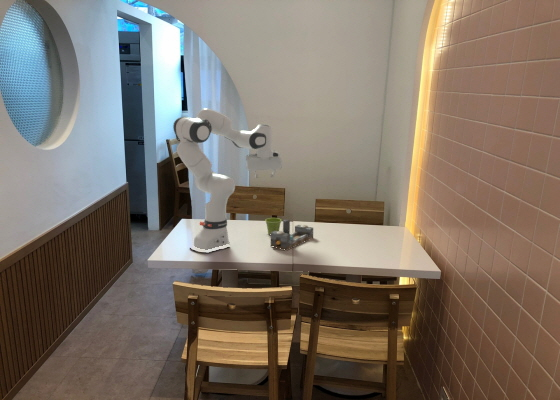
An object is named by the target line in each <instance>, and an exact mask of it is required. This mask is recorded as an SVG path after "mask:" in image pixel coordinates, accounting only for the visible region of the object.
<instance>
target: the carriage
mask: <svg viewBox="0 0 560 400" xmlns="http://www.w3.org/2000/svg"><path fill="white" fill-rule="evenodd" d="M290 224H291V221H290V219H283V220H282V231H283V232H284V233H287V234H291V232H290V231H291V230H290V229H291V225H290ZM292 240H293V236H290V241H292Z"/></svg>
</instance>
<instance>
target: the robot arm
mask: <svg viewBox="0 0 560 400" xmlns="http://www.w3.org/2000/svg"><path fill="white" fill-rule="evenodd" d="M172 127H173V132H174V134H175V139H176V140H177V141H178V142H179V143H178V144H177V146H176V153H177V155H178V157H179V158H180V160H181V163H183V164H184V165H185V167H186V168H187V169H188V170H189V171H190V173H191V174H192V175H193V177H194V185H195V187H196V188H197V189H198V190H199V191H200V192H203V193H206V194H210V200H209V201H208V202H207V203H206V204H205V206H204V210H205V211H204V215H205V216H204V217H205V219H204V220H203V221H199V226H202V228H201V229H200V230H199V232H197V234H196V235H195V236H194V238H193V239H194V240H193V245H194V246H195V247H197V248H200V249H205V250H208V249H212V248H215V247H219V246H223V245H226V244H229V243H230V240H229V234H228V228H227V226H228V219H227V204H228V201H229V200H228V199H229V198H230V196H231V195H232V194H233V193H234V192H235V189H236V182H235V180H234V179H233V178H232V177H229V176H227V175H225V174H219V173H217V172H214V171H213V170H212V165H213V164H212V162H211V160H210V159H209V158H208V157H207V155H206V154H205V153H204V151H203V150H202V148H200V145H199V144H201V143H205V142H206V141H208V140H209V138H210V136H211V134H214V135H215V136H218V137H224V138H226V139H228V140H229V141H231V142H232V144H234V146H235V147H236V148H239V149H248V150H249V149H250V150H256V153H249V154H247V155H246V156H245V161H246V168H245V169H247V171H252V174H253V175H254V179H258V178H259V177H258V176H259V175H258V174H256V171H269V170H270V171H272V173H270V178H274V177H275V176H274V175H275V174H276V173H277V172H276V171H277V170H281V169H282V167H283V164H282V162H283V161H282V158H281V153H280V152H278V151H276V150H273V146H272V141H273V133H272V132H273V131H272V128H271V126H269V125H267V124H261V123H260V124H257V125H256V127H255V128H254V129H252V130H251V131H250V130H245V129H244V130H243V129H234V128H233V122H232V119H231V118H230V117H229V116H227V115H225V114H223V113H222V112H220V111H217V110H215V109H213V108H206V107H203V108H202V109H200V110H199V111H198V113H197V115H196V117H195V118H194V117H187V116H181V117H178V118H176V119H175V120H174V122H173V125H172Z"/></svg>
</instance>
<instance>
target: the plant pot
mask: <svg viewBox="0 0 560 400" xmlns="http://www.w3.org/2000/svg"><path fill="white" fill-rule="evenodd" d="M282 222H283V220H282V219H281V218H279V217H278V218H277V217H269V218H266V219H265V223H266V227H267V235H268V234H271V232H273V231H280V226H281V223H282Z"/></svg>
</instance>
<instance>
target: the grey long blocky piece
mask: <svg viewBox="0 0 560 400" xmlns="http://www.w3.org/2000/svg"><path fill="white" fill-rule="evenodd" d="M290 236H293V240H292V241H290ZM311 238H312V239H313V238H314V227H310V226H308V225H307V224H297V225H294V232H292V233H290V234H287V233H284V232H283V230H279V231H273V232H271V235H270V247H271V246H274V247H277V248H281V249H285V250H286V251H288V250H290V249H289V248H291V247H293V246H295V245H297V246H299V245H301V244H302V242H303V243H305V242H307V241H309V239H310V240H312V239H311ZM279 240H281V244H279V245H277V244H276V242H277V241H279ZM304 241H305V242H304ZM300 243H301V244H300ZM298 244H299V245H298ZM295 247H296V246H295ZM277 248H276V249H277ZM293 248H294V247H293ZM281 249H280V250H281ZM287 249H288V250H287ZM291 249H292V248H291ZM285 250H284V251H285Z"/></svg>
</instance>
